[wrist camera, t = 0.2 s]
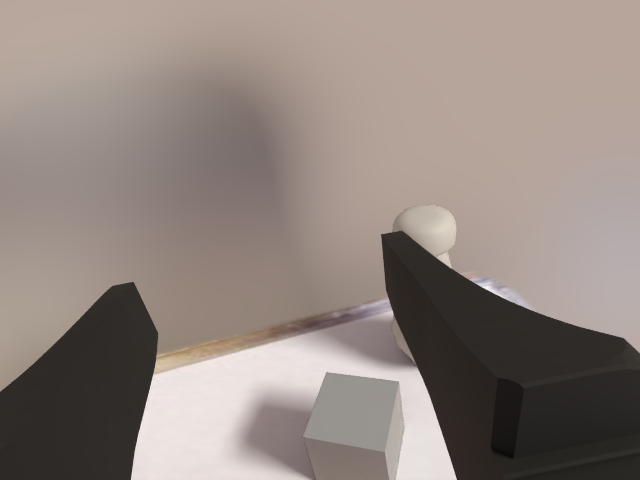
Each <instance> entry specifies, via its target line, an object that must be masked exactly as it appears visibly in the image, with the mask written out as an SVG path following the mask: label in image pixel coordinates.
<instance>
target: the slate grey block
mask: <svg viewBox="0 0 640 480" xmlns="http://www.w3.org/2000/svg"><path fill="white" fill-rule="evenodd" d="M403 434H404V420H403V412H402V403H401V394H400V386H399V382H398V381H390V380H382V379H375V378H367V377H359V376H351V375H344V374H336V373H328V372H326V375H325V377H324V380H323V383H322V386H321V388H320V391H319V394H318V397H317V399H316V402H315V405H314V407H313V410H312V413H311V416H310V418H309V421H308V424H307V427H306V429H305V432H304V435H303V439H304V443H305V446H306V449H307V452H308V455H309V459H310V462H311V465H312V468H313V471H314V475H315V478H316V480H396V474H397V468H398V463H399V457H400V451H401V445H402V439H403Z"/></svg>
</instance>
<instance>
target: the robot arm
mask: <svg viewBox="0 0 640 480" xmlns="http://www.w3.org/2000/svg"><path fill="white" fill-rule="evenodd" d="M381 237H382V248H383V260H384V271H385V283H386V291H387V294H388V297H389V301H390V304H391V307H392V310H393V313H394V316H395V319H396V321H397V324H398V326H399V328H400V330H401V332H402V335H403V337H404V339H405V341H406V343H407V346H408V348H409V350H410V352H411V354H412V356H413V359H414V361H415V363H416V365H417V367H418V369H419V372H420V374H421V376H422V378H423V380H424V383H425V385H426V388H427V390H428V393H429V395H430V398H431V401H432V404H433V407H434V410H435V413H436V416H437V419H438V422H439V425H440V428H441V431H442V434H443V437H444V440H445V443H446V446H447V449H448V452H449V456H450V459H451V462H452V465H453V468H454V471H455V475H456V478H457V480H640V353H639V352H638V351H637V350H636V349H635V348H633V347H632V346H631V345H630V344H629V343H628V342H627V341H626V340H625V339H624V338H621V337H617V336H613V335H609V334H605V333H601V332H597V331H593V330H589V329H585V328H581V327H578V326H574V325H572V324H568V323H565V322H562V321H559V320H556V319H553V318H550V317H547V316H545V315H542V314H539V313H537V312H534V311H532V310H529V309H527V308H524V307H522V306H519V305H517V304H515V303H512V302H510V301H508V300H506V299H504V298H502V297H500V296H498V295H496V294H494V293H492V292H490V291H488V290H486V289H484V288H482V287H480V286H479V285H477V284H475V283H473V282H472V281H470V280H468V279H467V278H465V277H464V276H462V275H460V274H459V273H457V272H456V271H454V270H453V269H451V268H450V267H449V266H447V265H446V264H444V263H443V262H442V261H440V260H439V259H437V258H436V257H435V256H433V255H432V254H431V253H430V252H428V251H427V250H426V249H425V248H423V247H422V246H421V245H420V244H418V243H417V242H416V241H415V240H413V239H412V238H411V237H410V236H409V235H407V234H406V233H405V232H403V231H397V232H392V233H387V234H382V235H381ZM157 342H158V332H157V330H156V328H155V326H154V324H153V322H152V320H151V317H150V315H149V313H148V311H147V309H146V307H145V305H144V303H143V301H142V299H141V296H140V294H139V292H138V290H137V288H136V286H135V284H134V282H131V283H125V284H121V285H115V286H112V287H111V288H110V289H109V290H107V291H106V292H105V293H104V294H103V295H102V296H101V297H100V298H99V299H98V300H97V301H96V302H95V303H94V304H93V305H92V306H91V308H90V309H89V310H88V311H87V312H86V313H85V314H84V315H83V316H82V317H81V318H80V319H79V320H78V321H77V322H76V323H75V324H74V325H73V326H72V327H71V328H70V329H69V330H68V331H67V332H66V333H65V334H64V335H63V336H62V337H61V338H60V339H59V340H58V341H57V342H56V343H55V344H54V345H53V346H52V347H51V348H50V349H49V350H48V351H47V352H46V353H44V354H43V356H41V357H40V358H39V359H38V360H37V361H36V362H35V363H34V364H33V365H32V366H31V367H29V368H28V369H27V370H26V371H25V372H24V373H23V374H21V375H20V376H19V377H18V378H17V379H16V380H14V381H13V382H12V383H11V384H9V385H8V386H7V387H6V388H5V389H3V390H2V391H1V392H0V480H131V474H132V467H133V459H134V452H135V447H136V442H137V437H138V433H139V429H140V425H141V421H142V417H143V413H144V409H145V405H146V401H147V397H148V393H149V389H150V385H151V381H152V377H153V372H154V368H155V362H156V353H157Z"/></svg>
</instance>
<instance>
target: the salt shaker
mask: <svg viewBox="0 0 640 480" xmlns="http://www.w3.org/2000/svg"><path fill="white" fill-rule="evenodd" d="M397 231H403V232H405V233H406V234H407V235H409V236H410V237H411V238H412V239H413V240H415V241H416V242H417V243H418V244H420V245H421V246H422V247H423V248H425V249H426V250H427V251H428V252H430V253H431V254H432V255H433V256H435V257H436V258H437V259H439V260H440V261H442V262H443V263H444V264H446V265H447V266H449V267H450V268H451V269H452V267H451V263H450V260H449V256H448V251H449V250H450V249H451V248H452V247H453V246H454V243H455V238H456V223H455V219H454V218H453V216H452V215H451V214H450V212H448V211H447V210H445V209H443V208H441V207H438V206H433V205H419V206H414V207H411V208H408V209H406V210H404V211H403V212H402V213H401V214H399V215H398V216H397V217H396V218H395V221H394V223H393V229H392V232H397ZM392 332H393V335H394V337H395V340H396V342H397V345H398V346H399V347H400V348H401V349H402V350H403V351H404V352H405V353H406V354H407V355H408V356H409V357H410V358H411V360H412V361H413V362H414V364H415V365H416V363H415V361H414V359H413V356H412V354H411V352H410V350H409V348H408V346H407V343H406V341H405V339H404V337H403V335H402V332H401V330H400V328H399V326H398V324H397V321H396V319H395V316H394V317H393V325H392ZM416 366H417V365H416Z"/></svg>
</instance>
